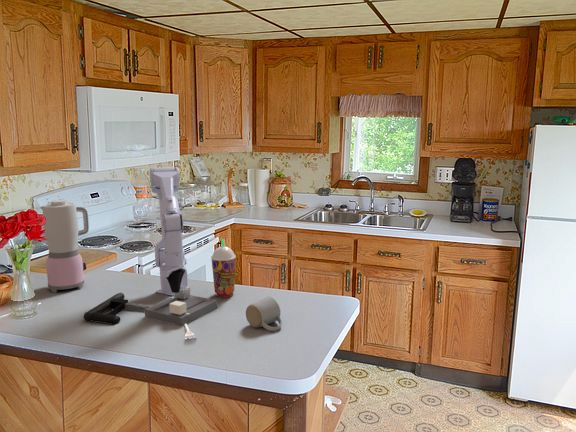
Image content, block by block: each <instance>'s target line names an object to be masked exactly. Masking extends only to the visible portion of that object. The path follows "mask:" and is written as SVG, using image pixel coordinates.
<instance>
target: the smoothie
mask: <svg viewBox="0 0 576 432" xmlns="http://www.w3.org/2000/svg"><path fill="white" fill-rule="evenodd" d="M210 257H211V258H210V259H211V267H212V277H213V278H212V279H213V287H214V293H215V294H216V296H217V297H220V298H228V297H231V296H233V295H234V292H235V286H236V285H235V282H236V280H235V279H236V278H235V277H236V257H237V255H236V254H235V252H234V251H233V250H232V249H231V248H230V247H228V246H226V245H225V239H224V238H221V246H219V247H217V248H216V249H215V250H214V251H213V253H212V255H211V256H210Z"/></svg>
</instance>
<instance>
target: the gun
mask: <svg viewBox="0 0 576 432" xmlns="http://www.w3.org/2000/svg"><path fill="white" fill-rule="evenodd" d="M125 298H126V297H125V294H124V293H123V292H119V293H116V294H114V295H112V296H111V297H109V298H108V299H106V300H104V301H103V302H101V303H99V304H97V305H96V306H94V307H93V308H91V309H90V310H88V311H87V312H86V311H84V314H83V320H84V321H86V322H97V323H101V324H102V323H103V324H109V325H117V324H119V323H120V322H121V316H119V315H118V314H120V313H121V312H123V311H124V310H129V311H140V312H145V309H147V308H149V307H150V305H147V304H140V303H133V302H129V299H125ZM107 311H109V312H107Z"/></svg>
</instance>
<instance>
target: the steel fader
mask: <svg viewBox="0 0 576 432" xmlns="http://www.w3.org/2000/svg"><path fill="white" fill-rule="evenodd" d="M190 288H191V287H190ZM190 288H186V287H181V286H180V291H179V292H178V293H174V295H173V296H175V297H176V298H181V299H186V298H188V297H190V295H191V289H190Z"/></svg>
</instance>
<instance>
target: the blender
mask: <svg viewBox="0 0 576 432" xmlns="http://www.w3.org/2000/svg"><path fill="white" fill-rule="evenodd" d="M39 208H40V209H41V210H42V217H43V216H45V218H46V224H45V225H43V231H44V230H45V233H44V238H45V242H46V246H47V249H48V255H47V259H46V262H45V266H46V275H47V276H46V278H47V288H48V289H50V290H51V293H58V290H69V289H74V288H77V289H78V290H81V289H83V287H84V284H85V278H84V277H85V276H84V271H86V270H87V263H86V262H83V257H82V255H81V254H80V252H79V250H78V242H79V236H83V235H86V234H88V233H89V226H90V223H89V214H88V213H89V212H88V211H87V209H86V208H85V207H83V206H82V207H81V206H76V203H74V202H67V199H58V200H57V199H56V200H51V201H50V203H47V204H43V206H39ZM78 212H80V213H82V221H83V229H81V230H79V219H78ZM46 238H47V240H46Z"/></svg>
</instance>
